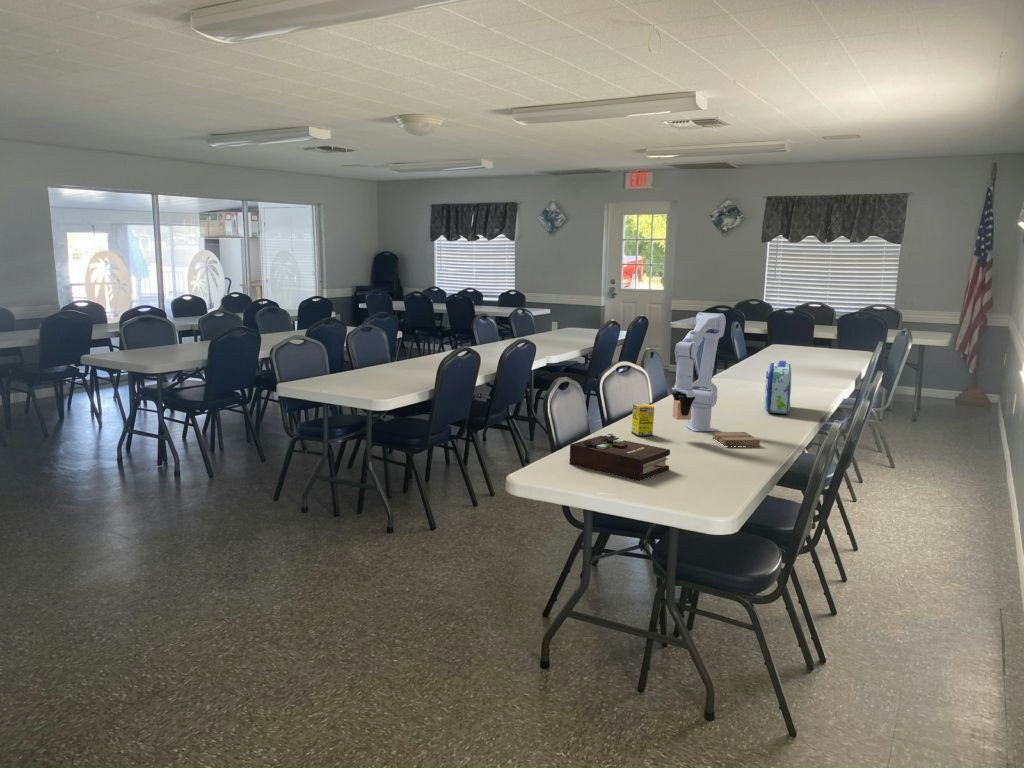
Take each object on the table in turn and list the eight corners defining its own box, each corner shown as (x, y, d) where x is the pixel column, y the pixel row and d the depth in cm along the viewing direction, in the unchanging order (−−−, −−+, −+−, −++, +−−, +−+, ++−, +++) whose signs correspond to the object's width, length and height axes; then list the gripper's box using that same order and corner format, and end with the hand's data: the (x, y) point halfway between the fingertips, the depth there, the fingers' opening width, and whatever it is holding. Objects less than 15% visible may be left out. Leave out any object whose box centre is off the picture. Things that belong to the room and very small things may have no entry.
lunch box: (764, 404, 340) (768, 357, 336) (789, 406, 336) (793, 359, 333) (762, 414, 316) (766, 365, 312) (789, 417, 312) (793, 367, 309)
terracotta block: (672, 416, 270) (673, 400, 269) (686, 416, 271) (687, 400, 270) (677, 419, 265) (678, 402, 264) (690, 419, 266) (691, 402, 265)
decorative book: (645, 459, 214) (561, 440, 234) (644, 485, 215) (560, 464, 235) (679, 447, 229) (597, 431, 248) (677, 471, 230) (596, 453, 249)
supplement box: (638, 437, 271) (639, 407, 270) (631, 433, 277) (632, 404, 275) (653, 436, 273) (654, 406, 271) (645, 432, 279) (647, 403, 277)
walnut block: (712, 440, 271) (713, 432, 271) (744, 440, 273) (745, 432, 272) (725, 448, 259) (726, 440, 259) (758, 448, 261) (759, 440, 260)
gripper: (666, 372, 272) (664, 409, 274) (680, 379, 258) (677, 418, 260) (685, 372, 273) (683, 409, 275) (700, 379, 259) (697, 417, 261)
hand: (682, 413), depth 268 cm, fingers closed on terracotta block, 5 cm apart
